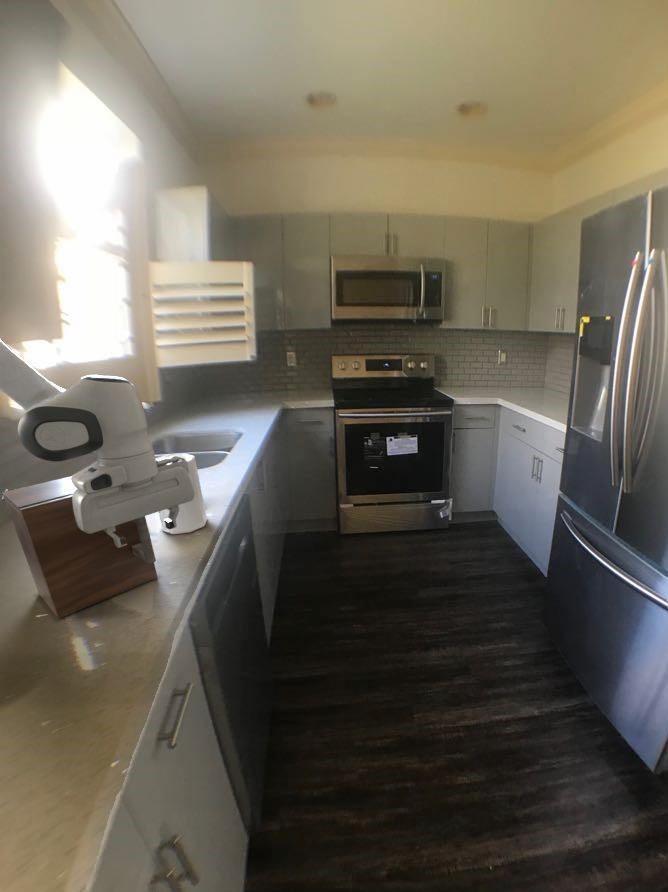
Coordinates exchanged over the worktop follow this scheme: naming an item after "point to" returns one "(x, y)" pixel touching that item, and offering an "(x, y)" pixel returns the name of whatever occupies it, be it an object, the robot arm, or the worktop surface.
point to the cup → (187, 503)
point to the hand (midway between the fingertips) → (147, 536)
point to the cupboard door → (86, 556)
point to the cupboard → (14, 503)
